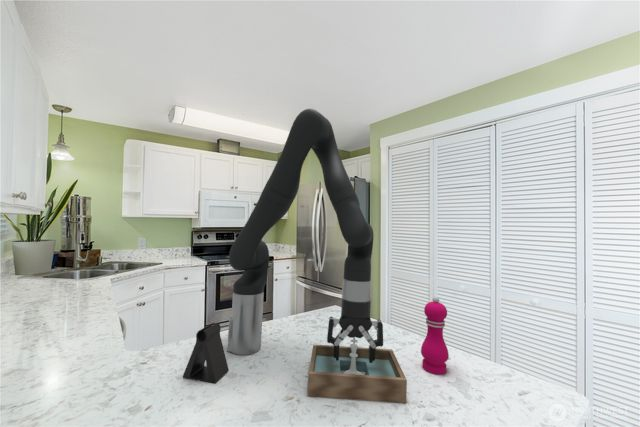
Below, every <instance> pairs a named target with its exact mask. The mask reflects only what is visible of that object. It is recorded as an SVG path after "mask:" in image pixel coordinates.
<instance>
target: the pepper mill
mask: <svg viewBox="0 0 640 427" xmlns="http://www.w3.org/2000/svg"><path fill="white" fill-rule="evenodd" d="M423 312H424V315H425V316H426V318H425V324H426V325H427V331H426V332H427V333H426V336H425V338H424V340H423V342H422V344H421V348H420V353H421V356H422V357H423V359H422V362H421V365H422V369H423V370H425V371H426V372H427V373H430V374H433V375H444V374H446V373H447V363H446V362H447V361H448V360H449V357H450V355H449V349H448V347H447V344H446V342H445V340H444V334H443V333H444V332H443V331H444V327H445V326H446V321H445V319H446V318H447V316H448V309H447V308H446V305H444V304H443V303H441V302H440V298H439V297H438V296H436V295H435V296H433V297H432V301H429V302H427V303H426V304H425V306H424V309H423Z"/></svg>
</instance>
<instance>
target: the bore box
mask: <svg viewBox="0 0 640 427" xmlns="http://www.w3.org/2000/svg"><path fill="white" fill-rule="evenodd" d="M311 351H312V352H311V357H310V362H309V368H308V373H307V374H308V376H307V395H306V396H307V397H312V398H313V397H314V398H327V399H329V398H330V399H340V400H341V399H342V400H354V401H357V400H358V401H367V402H368V401H369V402H381V403H382V402H384V403H397V404H398V403H399V404H407V390H408V389H407V388H408V387H407V386H408V380H407V377H406V375H405V373H404V371H403V369H402V367H401V365H400V363H399V361H398V358H397V357H396V354H395V352H394V350H393V349H391V348H389V349H388V348H379V347H376V349H375V360H374V361H373V362H372V363H369V347H363V346H362V347H361V346H358V348H357V351H356V354H357V355H358V357H355V360H356V370H357V371H358V372H365V374H362V375H356V374H344V373H341V371H347V370H349V369H350V365H351V358H352V357H350V353H352V352H351V348H350V346H344V345H343V346H342V345H339V361H336V358H334V356H333V352H334V345H328V344H312V350H311Z"/></svg>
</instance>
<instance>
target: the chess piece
mask: <svg viewBox="0 0 640 427" xmlns="http://www.w3.org/2000/svg"><path fill="white" fill-rule="evenodd" d="M350 342H351V344H350V345H349V347H350V348H351V352H352V353H350V357H352V358H351V365H350V369H349V370H344V372H343V374H356V375H363V374H362V373H361V371H357V370H356V360H355V357H358V355H357V354H356V351H357V348H358V347H359V346H358V344H357V343H358V340H356V337H353V338H352V339H350Z"/></svg>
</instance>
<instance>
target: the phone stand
mask: <svg viewBox="0 0 640 427" xmlns="http://www.w3.org/2000/svg"><path fill="white" fill-rule="evenodd" d="M221 328H222V327H221V324H220V323H219V322H216V323H215V322H212V323H210V324H209V325H206V326H205V327H203V328H201V329H200V330H198V331H197V332H196V333H195V334H196V335H195V338H196V339H195V340H196V341H195V345H194V347H193V350H192V352H191V354H190V357H189V359H188V362H187V364H186V367H185V369H184V372H183V375H182V378H183V379H186V380H190V381H197V382H198V381H199V382H203V383H209V384H217V382H218V381H220V380H221V379H222V378H223V377H224V376H225V375H226V374H227V373H228V372H229V371H230V370H229V366H228V362H227V358H226V357H227V356H226V354H225V350H224V345H223V342H222V337H221ZM205 364H206V365H205Z"/></svg>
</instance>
